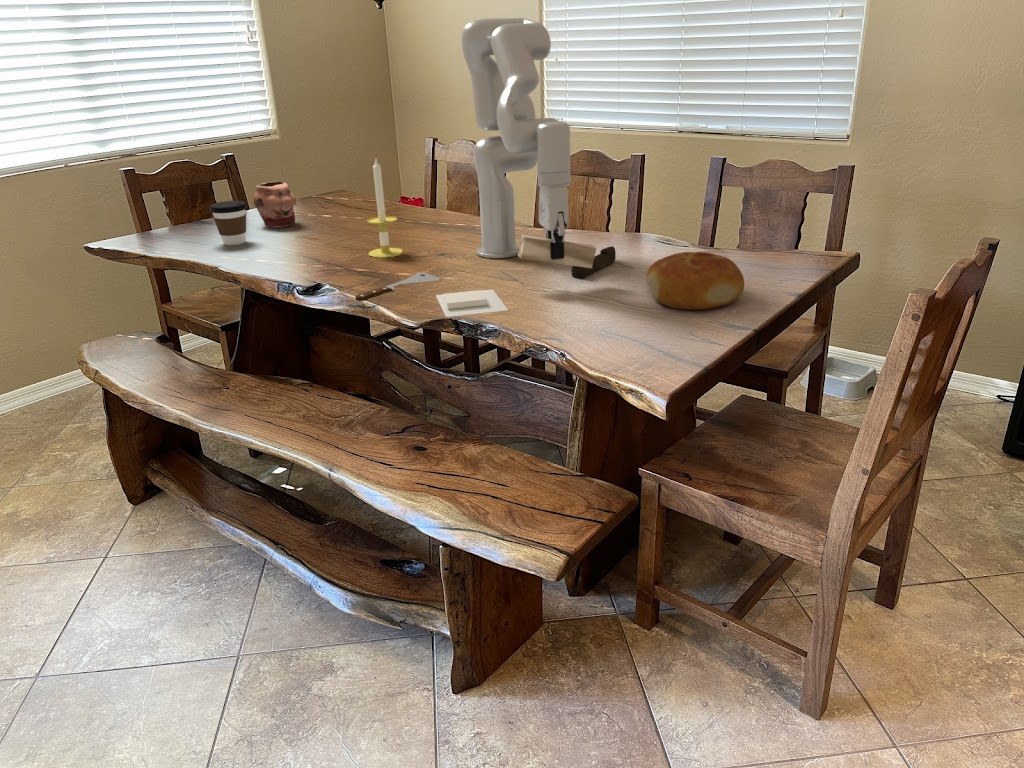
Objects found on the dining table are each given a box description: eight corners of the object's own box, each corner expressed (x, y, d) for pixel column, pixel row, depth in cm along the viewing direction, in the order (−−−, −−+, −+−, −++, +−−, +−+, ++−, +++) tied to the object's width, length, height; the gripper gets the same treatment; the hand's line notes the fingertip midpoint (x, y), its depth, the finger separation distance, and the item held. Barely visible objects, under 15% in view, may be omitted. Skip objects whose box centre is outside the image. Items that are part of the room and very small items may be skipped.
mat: (435, 297, 186) (435, 295, 186) (493, 291, 189) (493, 289, 189) (446, 319, 172) (446, 317, 172) (508, 312, 175) (508, 310, 175)
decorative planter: (244, 224, 264) (236, 183, 258) (274, 217, 273) (267, 177, 267) (280, 232, 253) (273, 188, 247) (310, 224, 261) (304, 182, 255)
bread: (621, 300, 181) (622, 257, 177) (679, 277, 196) (681, 237, 191) (706, 322, 166) (709, 276, 162) (762, 295, 181) (767, 253, 176)
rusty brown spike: (583, 280, 196) (584, 262, 194) (570, 278, 198) (570, 260, 196) (623, 263, 209) (624, 246, 207) (611, 261, 211) (611, 244, 209)
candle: (361, 256, 223) (349, 159, 212) (381, 247, 231) (372, 153, 220) (389, 259, 219) (379, 160, 207) (409, 250, 227) (401, 155, 215)
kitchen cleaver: (375, 304, 182) (348, 293, 188) (376, 308, 183) (349, 297, 189) (449, 279, 199) (422, 271, 205) (449, 283, 199) (423, 274, 205)
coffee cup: (258, 238, 246) (252, 200, 241) (244, 247, 236) (237, 207, 231) (225, 238, 247) (218, 200, 242) (210, 247, 237) (202, 208, 232)
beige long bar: (517, 255, 186) (521, 234, 184) (587, 265, 191) (592, 245, 189) (520, 258, 183) (524, 237, 182) (591, 268, 188) (596, 248, 187)
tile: (480, 296, 184) (442, 300, 182) (480, 290, 183) (442, 294, 182) (486, 305, 178) (447, 310, 176) (486, 299, 177) (447, 303, 175)
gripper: (529, 174, 186) (531, 250, 193) (547, 185, 171) (549, 267, 179) (559, 172, 187) (560, 247, 195) (580, 182, 173) (580, 264, 180)
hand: (555, 256), depth 187 cm, fingers closed on beige long bar, 3 cm apart
